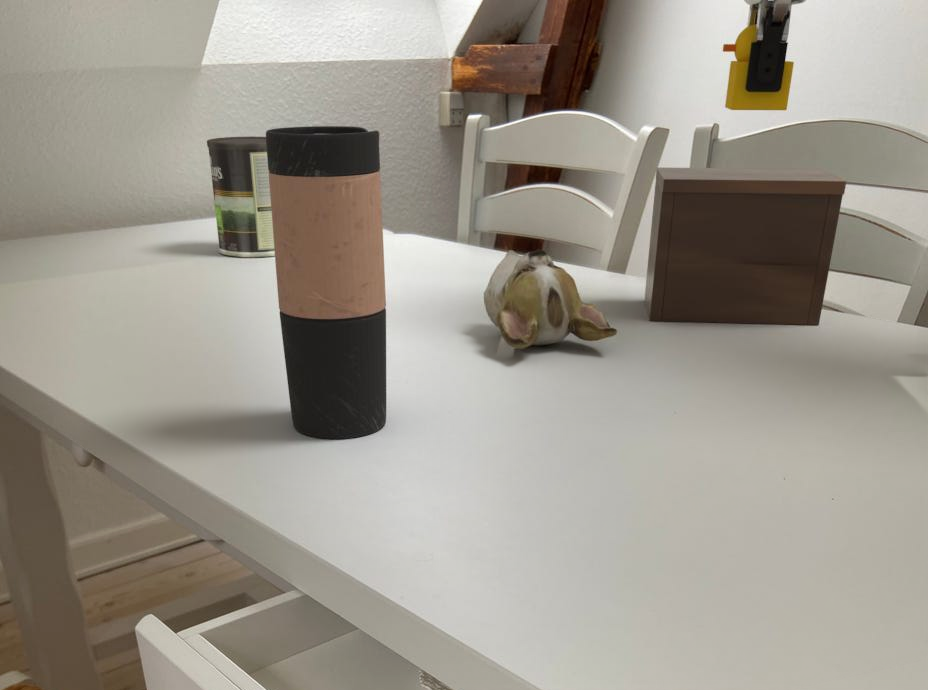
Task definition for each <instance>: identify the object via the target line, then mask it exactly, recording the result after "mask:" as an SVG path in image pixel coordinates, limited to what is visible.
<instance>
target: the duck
mask: <svg viewBox="0 0 928 690" xmlns="http://www.w3.org/2000/svg"><path fill="white" fill-rule="evenodd" d="M756 27H757V24H755V25H751V26H748V27H747V26H746V27H745V28H744V29H743V30H742V31H741V32H740V33H739V34H738V35H737V37H736V40H735V43H724V44H723V46H722V52H723V53H725V52H728V53H732V52H733V53H734V57H735V60H731V61H730V64H729V71H728V73H729V75H728V80H727V89H726V95H725V104H724V107H725V108H726V109H728V110H730V111H787V109H788V103H789V96H790V90H791V84H792V77H793V70H794V63H795V62H794V61H788V60H785V65H784V72H783V79H782V85H781V89H780V91H778V92H748V91H747V90H746V80H747V72H748V65H749V57H750V50H751V42H755V37H756Z"/></svg>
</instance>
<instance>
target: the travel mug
mask: <svg viewBox="0 0 928 690" xmlns="http://www.w3.org/2000/svg"><path fill="white" fill-rule="evenodd" d="M265 137H266V146H267V159H268V170H269V185H270V198H271V211H272V224H273V237H274V250H275V256H274V260H275V261H274V263H275V274H276V287H277V300H278V309H279V321H280V328H281V329H280V330H281V337H282V346H283V354H284V362H285V373H286V378H287V379H286V380H287V388H288V398H289V405H290V414H291V419H292V425H293V427H294V430H296V431H297V432H298V433H300V434H301V435H305V436H308V437H311V438H318V439H329V440H330V439H332V440H333V439H334V440H337V439H353V438H358V437H364V436H367V435H371V434H374V433H376V432H378V431H380V430H382V429H383V428H384V427H385V426H386V422H387V308H386V306H387V299H386V298H387V297H386V296H387V294H386V273H385V250H384V227H383V226H384V225H383V204H382V183H381V182H382V180H381V179H382V178H381V158H380V157H381V156H380V132H379V130H370V131H369V130H367V128H365V127H361V126H346V125H315V126H314V125H311V126H292V127H289V126H288V127H276V128H270V129H268V130H266V131H265Z"/></svg>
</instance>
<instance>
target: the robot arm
mask: <svg viewBox="0 0 928 690" xmlns="http://www.w3.org/2000/svg"><path fill="white" fill-rule="evenodd" d="M743 1H744V3H746V4H747V5H748V6H749V10H748V17H747V21H746V28H747V27H748V26H751V25H755V24H757V27H756V37H755V42H751V50H750V57H749V65H748V72H747V80H746V90H747V91H748V92H778V91H780V89H781V85H782V79H783V72H784V65H785V61H786V58H787V53H788V52H787V51H788V44H789V42H788V38H789V34H790V33H789V32H790V24H791V23H790V22H791V15H792V7H793V5H794V6H795V5H800V4H804V3H805V2H807V0H743Z"/></svg>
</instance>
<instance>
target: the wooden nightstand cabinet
mask: <svg viewBox="0 0 928 690" xmlns="http://www.w3.org/2000/svg"><path fill="white" fill-rule="evenodd" d="M846 185H847V181H846V180H845V179H843V178H841V177H840V176H837V175H835V174H832V173H831V172H829V171H827V170H825V169H823V168H760V167H759V168H756V167H755V168H754V167H753V168H751V167H750V168H749V167H747V168H745V167H743V168H742V167H733V168H732V167H656V170H655V185H654V195H653V204H652V205H653V206H652V217H651V226H650V227H651V228H650V238H649V245H648V246H649V247H648V248H649V249H648V258H647V269H646V279H645V290H644V303H645V308H646V313H647V317H648V320H649V321H650V322H674V323H675V322H677V323H678V322H679V323H716V324H717V323H719V324H721V323H722V324H755V325H756V324H760V325H762V324H763V325H798V326H800V325H801V326H820V321H821V317H822V316H821V315H822V310H823V303H824V300H825V299H824V298H825V293H826V289H827V282H828V277H829V271H830V268H831V267H830V266H831V260H832V255H833V251H834V245H835V238H836V234H837V230H838V223H839V218H840V213H841V206H842V201H843V196H844V195H845V192H846V187H847V186H846Z"/></svg>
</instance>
